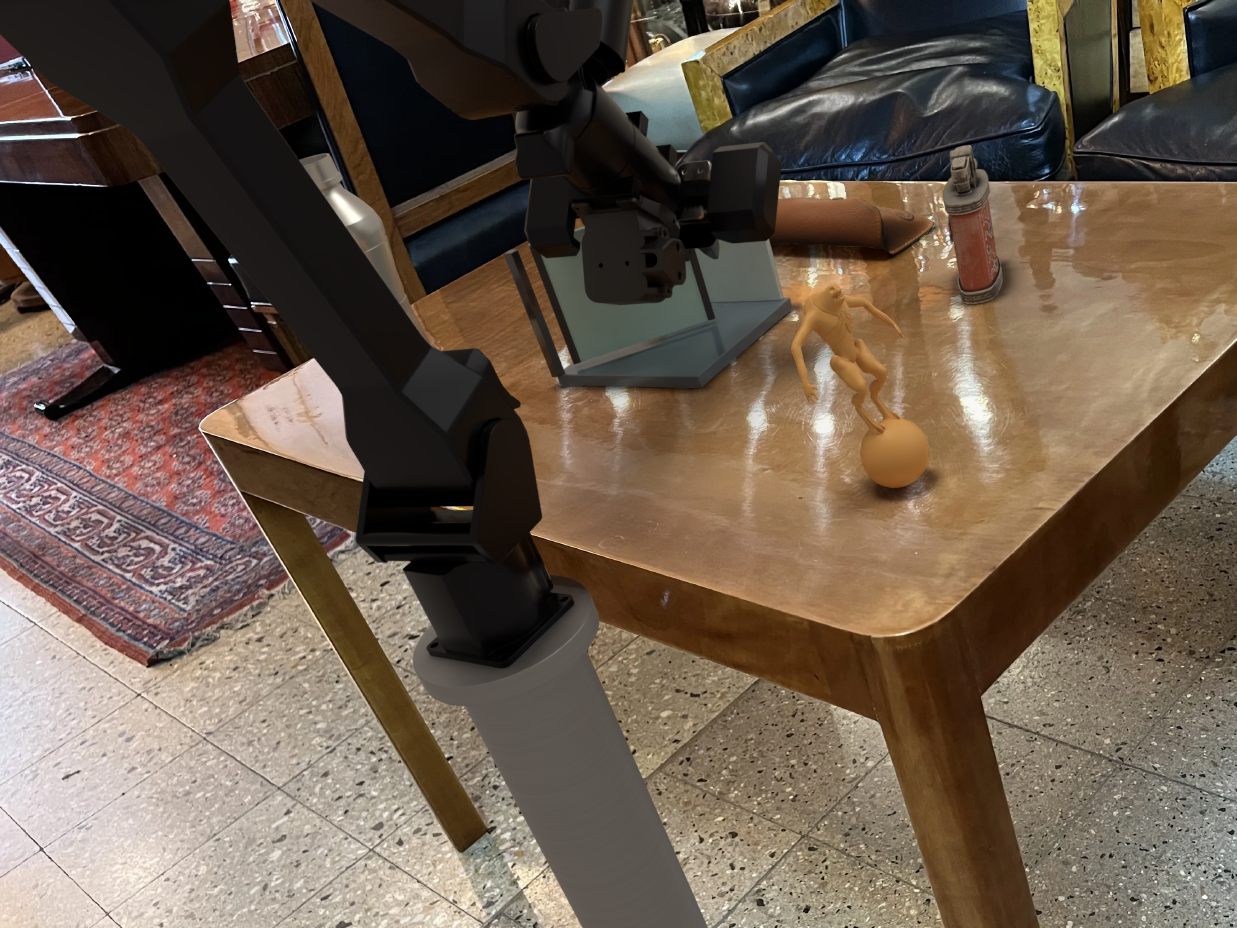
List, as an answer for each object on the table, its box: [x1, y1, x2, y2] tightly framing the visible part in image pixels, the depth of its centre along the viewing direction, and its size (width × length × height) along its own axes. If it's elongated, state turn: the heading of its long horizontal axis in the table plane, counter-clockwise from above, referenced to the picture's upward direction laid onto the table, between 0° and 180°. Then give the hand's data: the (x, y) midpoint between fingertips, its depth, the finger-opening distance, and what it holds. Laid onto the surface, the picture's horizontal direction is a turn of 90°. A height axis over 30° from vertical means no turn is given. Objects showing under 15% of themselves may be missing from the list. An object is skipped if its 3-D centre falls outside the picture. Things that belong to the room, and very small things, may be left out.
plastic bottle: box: [299, 153, 434, 347], centre depth 91 cm, size 6×7×20 cm
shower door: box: [528, 222, 715, 365], centre depth 92 cm, size 1×12×10 cm, turn 107°
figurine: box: [790, 283, 930, 489], centre depth 66 cm, size 8×6×12 cm
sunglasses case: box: [769, 196, 936, 255], centre depth 107 cm, size 18×7×7 cm, turn 52°
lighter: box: [942, 144, 1004, 305], centre depth 89 cm, size 8×3×10 cm, turn 172°
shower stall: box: [503, 239, 793, 389], centre depth 92 cm, size 14×14×11 cm
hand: (702, 254), depth 91 cm, fingers closed
